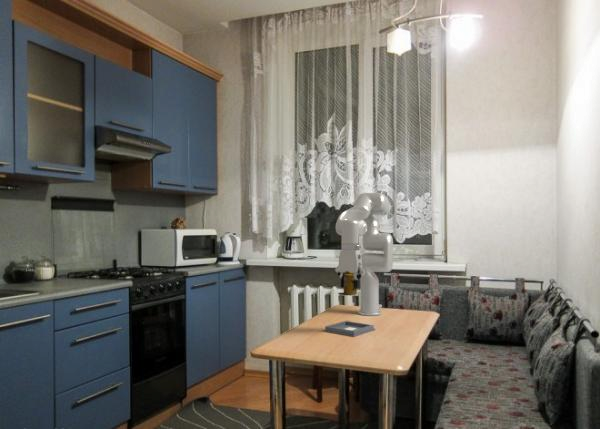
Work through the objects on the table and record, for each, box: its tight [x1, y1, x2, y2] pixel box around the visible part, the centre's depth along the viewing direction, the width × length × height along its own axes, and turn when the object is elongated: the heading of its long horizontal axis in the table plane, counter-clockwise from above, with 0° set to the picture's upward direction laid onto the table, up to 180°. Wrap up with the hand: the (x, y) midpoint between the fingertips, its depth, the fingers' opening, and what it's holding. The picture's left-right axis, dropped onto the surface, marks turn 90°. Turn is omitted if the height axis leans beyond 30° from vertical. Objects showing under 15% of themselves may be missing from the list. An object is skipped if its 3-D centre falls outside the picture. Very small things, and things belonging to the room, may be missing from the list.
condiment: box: [337, 271, 360, 296], centre depth 221 cm, size 7×8×12 cm
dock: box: [323, 320, 376, 338], centre depth 220 cm, size 17×16×2 cm
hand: (349, 287), depth 220 cm, fingers closed on condiment, 6 cm apart
